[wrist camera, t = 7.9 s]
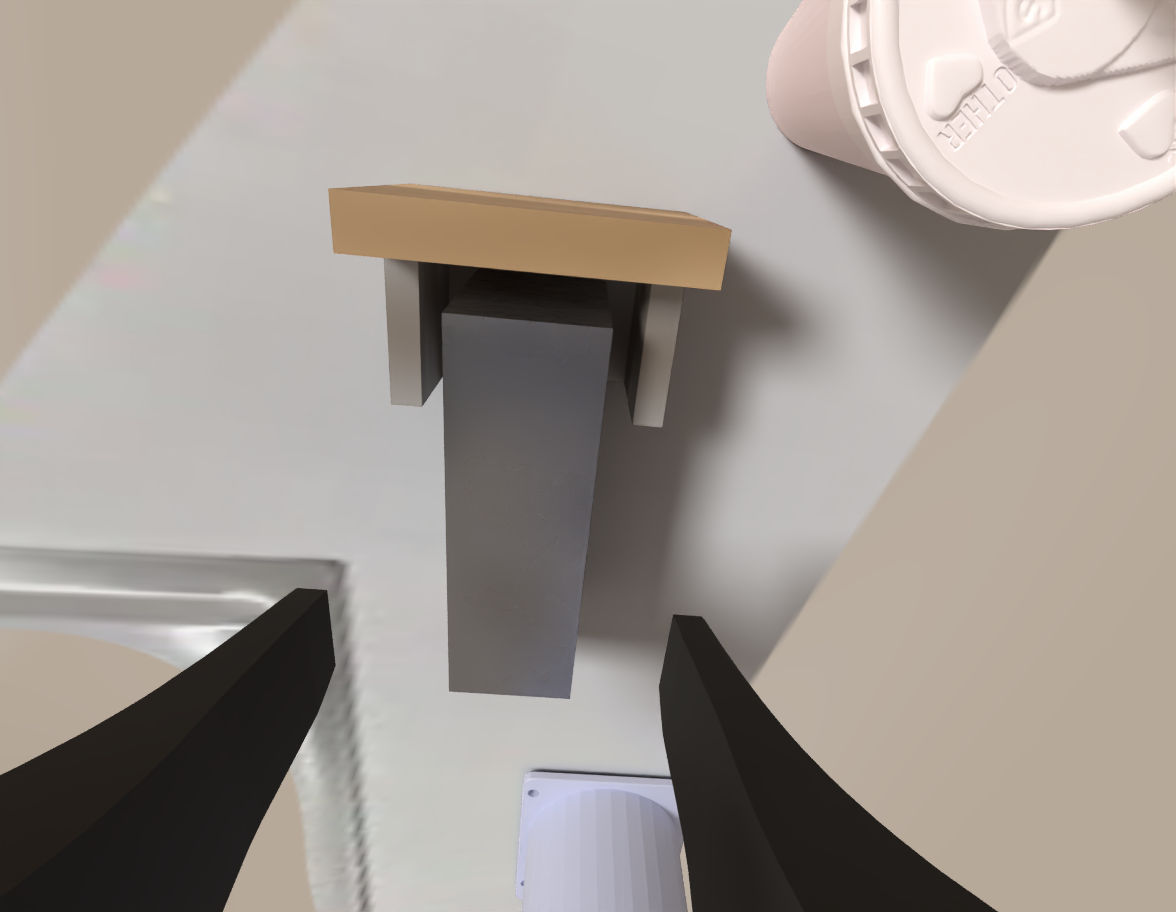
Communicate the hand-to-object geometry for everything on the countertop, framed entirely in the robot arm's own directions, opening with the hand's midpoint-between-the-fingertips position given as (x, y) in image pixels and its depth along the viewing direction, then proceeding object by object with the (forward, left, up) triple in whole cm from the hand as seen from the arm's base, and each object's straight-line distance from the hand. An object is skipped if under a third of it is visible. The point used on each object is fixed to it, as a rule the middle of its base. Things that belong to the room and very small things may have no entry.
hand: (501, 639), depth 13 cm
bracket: (+5, 0, -9) cm, 10 cm away
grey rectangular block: (0, 0, -9) cm, 9 cm away
